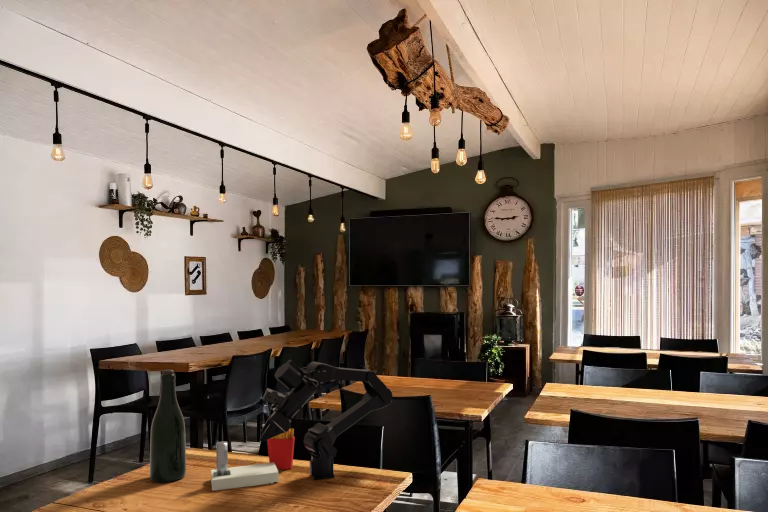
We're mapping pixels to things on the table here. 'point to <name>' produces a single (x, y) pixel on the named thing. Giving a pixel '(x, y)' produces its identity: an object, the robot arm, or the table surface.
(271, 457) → the french fries
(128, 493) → the table surface
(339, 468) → the table surface
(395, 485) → the table surface
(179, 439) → the beer bottle
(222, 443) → the peg
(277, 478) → the socket board
